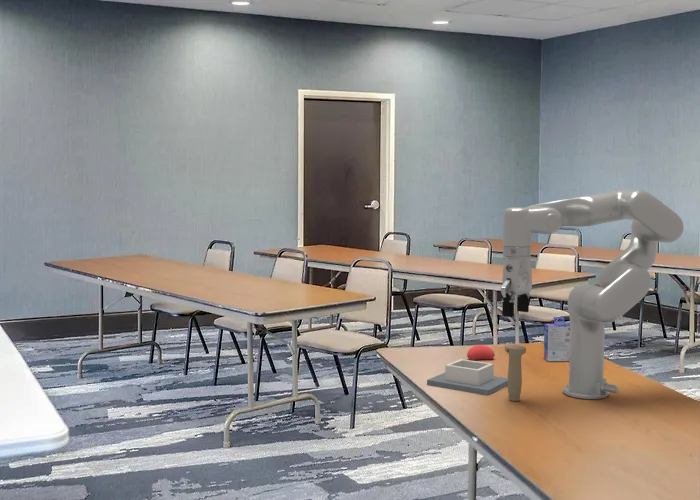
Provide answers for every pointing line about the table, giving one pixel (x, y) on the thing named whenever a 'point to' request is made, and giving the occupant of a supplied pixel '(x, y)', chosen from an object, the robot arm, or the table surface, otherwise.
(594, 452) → the table surface
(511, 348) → the handle
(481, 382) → the socket
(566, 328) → the ink cartridge box
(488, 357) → the red bean shape
